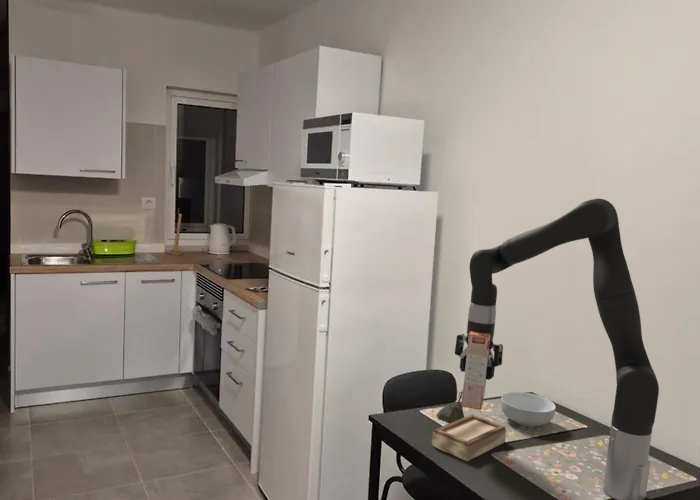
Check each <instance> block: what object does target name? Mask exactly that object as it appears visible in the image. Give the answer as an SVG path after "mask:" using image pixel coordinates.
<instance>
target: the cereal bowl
mask: <svg viewBox="0 0 700 500" xmlns="http://www.w3.org/2000/svg"><path fill="white" fill-rule="evenodd" d="M500 407H501V410H502V413H503V414H504V415H505V416H506V417H507V418H508V419H510V420H511V421H513V422H514V423H516V424H518V425H520V426H523V427H528V428H533V427H537V426H538V427H539V426H543V425H547V424H548V423H550V422H551V421H552V420H553V419H554V416H555V414H556V409H557V407H556V404H555V403H554V402H553V401H552V400H550V399H549V398H547V397H544V396H541V395H538V394H536V393H535V394H533V393H529V392H523V391H511V392H507V393H504V394H502V395H501V399H500Z"/></svg>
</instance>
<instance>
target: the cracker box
mask: <svg viewBox="0 0 700 500" xmlns="http://www.w3.org/2000/svg"><path fill="white" fill-rule="evenodd" d="M467 346H468V348H467V357H466V367H465V372H464V376H463V387H462V391H463V394H462V397H461V403H462V404H461V406H462V407H463V408H469V409H473V410H477V411H478V410H479V411H480V410H482V407H483V403H484V398H485V393H486V386H487V385H486V384H487V379H486V373H487V367H488V365H487V364H488V356H489V346H490V334H488V333H479V332H473V331H470V334H469V339H468V345H467Z"/></svg>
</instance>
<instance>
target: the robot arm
mask: <svg viewBox="0 0 700 500" xmlns="http://www.w3.org/2000/svg"><path fill="white" fill-rule="evenodd" d="M619 223H620V221H619V216H618V212H617V210H616V208H615V206H614V205H613V204H612V203H611V202H610V201H608V200H606V199H604V198H593V199H589V200H585V201H583V202H581V203H580V204H579V205H577V206H576V207H574V208H573V209H571V210H570V211H568V212H566V213H565V214H564V215H562V216H560V217H559V218H557V219H554V220H553V221H551V222H549V223H546V224H544V225H541V226H539V227H536V228H533V229H530V230H527V231H525V232H522V233H519V234H517V235H515V236H512V237H511V238H508V239H506V240H505V241H503V242H502V243H501V244H500V245H497V246H494V247H492V248H487V249H485V248H484V249H479V250H476V251H475V252H473V254H472V255H471V257H470V260H469V275H470V276H469V277H470V283H471V293H470V303H469V304H470V305H469V308H468V314H467V315H468V317H467V324H466V325H467V327H466V335H465V334H464V333H462V334H457V335H456V341H455V346H454V347H455V349H454V355H455V356H458V357H459V359H460V361H459V369H460V371H461V372H463V373H465V367H466V357H467V348H468V339H469V334H470V331H473V332H479V333H488V334H490V346H489V356H488V364H487V365H488V367H487V373H486V381H487V380H488V381H489V380H492V378H494V377H495V368H496V367H499V366H502V364H503V350H504V346H503V344H496V343H494V340H493V339H494V336H495V326H496V316H497V298H498V288H497V285H496V284H494V283H493V274H497V273H500V272H502V271H504V270H507V269H509V268H510V267H512V266H514V265H517V264H520V263H523V262H525V261H528V260H530V259H533V258H535V257H537V256H540V255H542V254H544V253H546V252H547V251H550V250H551V249H554V248H556V247H559V246H561V245H563V244H564V245H565V244H567V243H570V242H575V241H579V240H586V239H588V242H589V245H590V249H591V253H592V259H593V268H592V269H593V270H592V271H593V273H592V280H593V283H592V284H593V294H594V298H595V303H596V307H597V309H598V313H599V317H600V319H601V323H602V324H603V325H602V326H603V327H604V328H603V329H604V330H605V332H606V334H607V337H608V339H609V342H610V344H611V348H612V352H613V358H614V363H615V364H614V365H615V373H616V374H615V375H616V377H615V378H616V380H615V381H616V388H615V397H614V406H613V410H612V415H611V421H610V423H611V424H610V430H609V437H608V445H607V446H608V447H607V455H606V462H605V467H604V468H605V469H604V470H605V471H604V478H603V485H602V490H603V492H604V493H605V494H606V495H608V496H609V497H610V498H613V499H614V500H645V498H646V496H647V490H648V483H649V475H650V468H651V460H649V457H650V456H649V454H650V446H651V441H652V433H653V427H654V424H655V420H656V414H657V409H658V407H657V406H658V400H659V393H660V385H659V382H658V379H657V375H656V373H655V371H654V369H653V367H652V364H651V362H650V360H649V357H648V354H647V351H646V349H645V348H646V347H645V344H644V341H643V336H642V335H643V334H642V322H641V314H640V313H641V312H640V307H639V303H638V299H637V298H638V297H637V295H636V292H635V291H636V290H635V288H634V284H633V281H632V278H631V274H630V270H629V266H628V262H627V260H626V256H625V254H624V249H623V245H622V239H621V231H620V225H619ZM465 343H466V347H464V346H465ZM492 349H493V350H492ZM492 351H493V352H492ZM493 353H494V354H493Z"/></svg>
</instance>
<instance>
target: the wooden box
mask: <svg viewBox="0 0 700 500" xmlns="http://www.w3.org/2000/svg"><path fill="white" fill-rule="evenodd" d="M431 434H432V435H431V438H432V439H431V447H433V448H436V449H438V450H441V451H443V452H445V453H448V454H449V455H451V456H455V457H456V458H459V459H461V460H463V461H466V462H469V461H471V460H473V459H475V458H476V457H478V456H480V455H483V454H484V453H486V452H489V451H490V450H493V449H494V448H496V447H498V446H501V445H502V444H504V443H506V436H507V429H506V425H502V424H499V423H497V422H494V421H491V420H490V419H489V420H488V419H486V418H484V417H481V416H478V415H475V414H473V413H472V414H469V415H466V416H464V418H462V419H459V420H457V421H454V422H452V423H448V424H445V425H443V426H440V427H437V428H436V429H434V431H432V433H431Z"/></svg>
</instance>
